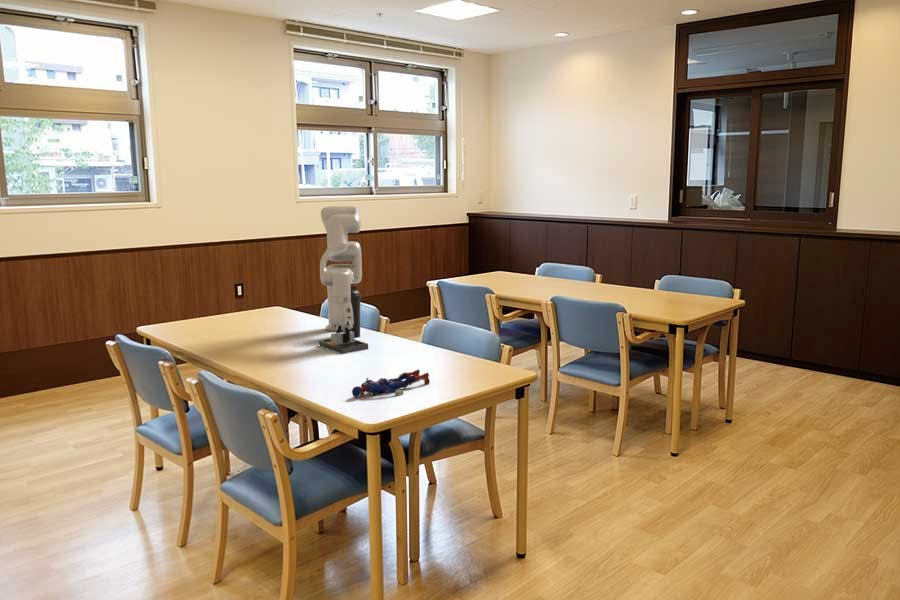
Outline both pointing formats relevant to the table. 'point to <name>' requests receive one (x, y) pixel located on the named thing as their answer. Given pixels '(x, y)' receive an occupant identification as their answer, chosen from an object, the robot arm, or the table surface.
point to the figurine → (390, 384)
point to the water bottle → (355, 310)
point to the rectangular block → (341, 338)
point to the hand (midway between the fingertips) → (343, 340)
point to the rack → (344, 346)
